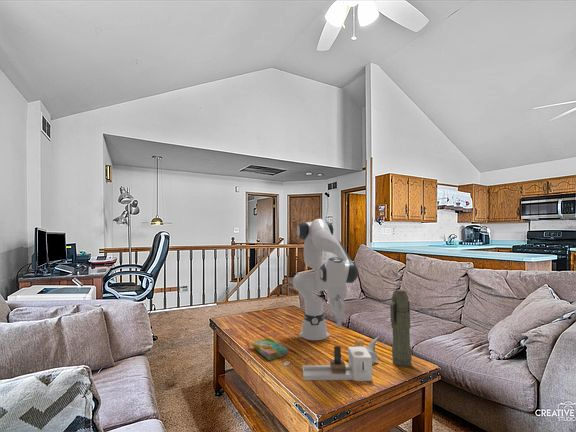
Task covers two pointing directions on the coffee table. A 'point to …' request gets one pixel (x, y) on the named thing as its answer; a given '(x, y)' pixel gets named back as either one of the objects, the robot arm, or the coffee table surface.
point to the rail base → (354, 371)
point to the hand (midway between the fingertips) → (337, 323)
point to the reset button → (359, 342)
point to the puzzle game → (269, 348)
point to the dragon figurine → (371, 350)
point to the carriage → (337, 361)
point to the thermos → (401, 329)
